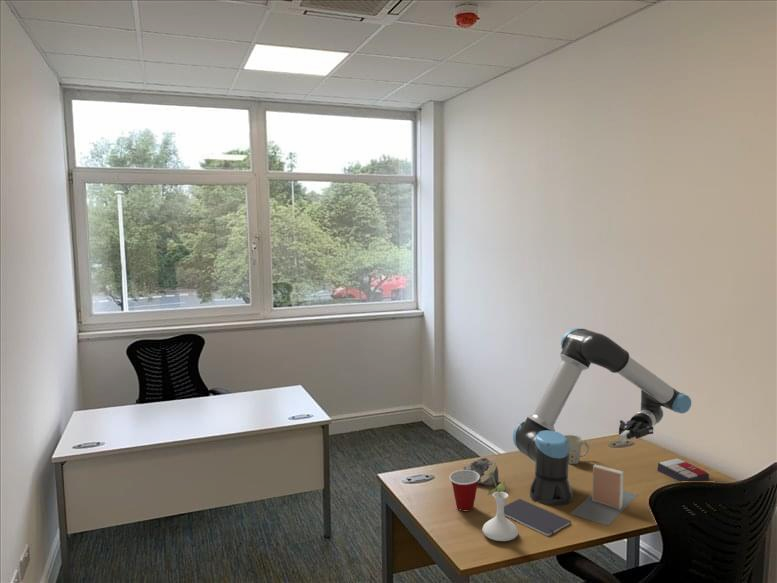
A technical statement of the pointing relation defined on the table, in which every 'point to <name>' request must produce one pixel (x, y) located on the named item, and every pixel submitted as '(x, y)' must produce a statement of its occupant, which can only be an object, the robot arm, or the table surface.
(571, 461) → the mug
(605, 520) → the mat
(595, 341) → the robot arm
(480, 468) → the mineral rock
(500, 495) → the flower in vase
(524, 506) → the notebook
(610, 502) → the tile
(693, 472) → the calculator
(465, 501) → the plastic cup
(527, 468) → the table surface
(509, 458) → the table surface
